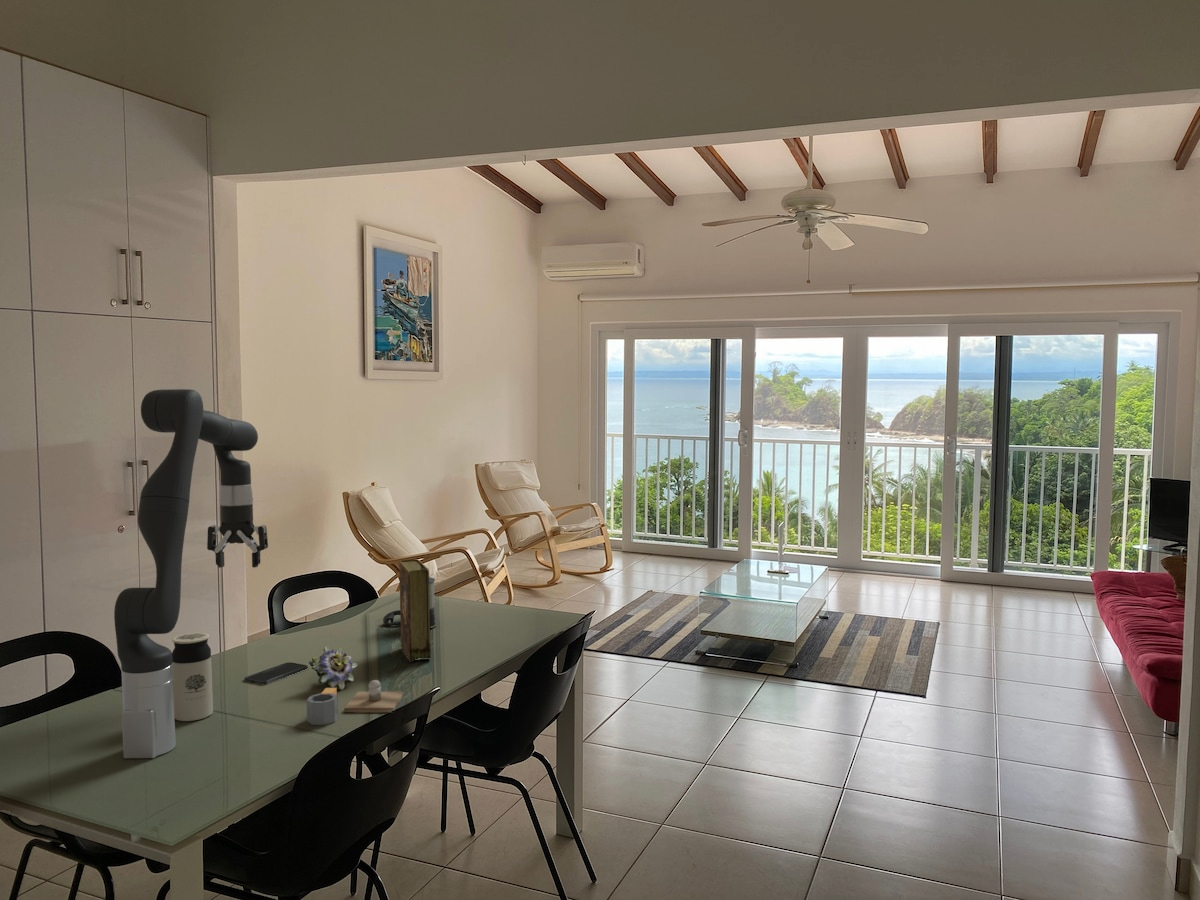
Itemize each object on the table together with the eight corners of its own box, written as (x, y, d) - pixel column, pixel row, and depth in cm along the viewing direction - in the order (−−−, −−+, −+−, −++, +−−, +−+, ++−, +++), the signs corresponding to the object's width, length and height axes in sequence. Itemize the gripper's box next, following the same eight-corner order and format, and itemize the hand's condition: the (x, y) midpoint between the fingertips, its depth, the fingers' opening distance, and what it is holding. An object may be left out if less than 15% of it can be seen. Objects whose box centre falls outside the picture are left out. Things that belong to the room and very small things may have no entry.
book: (400, 647, 251) (398, 560, 250) (419, 645, 253) (417, 558, 252) (410, 663, 236) (408, 571, 235) (430, 661, 238) (428, 569, 237)
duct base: (393, 712, 200) (392, 688, 200) (344, 712, 200) (343, 688, 200) (404, 695, 211) (403, 672, 211) (358, 695, 211) (357, 672, 211)
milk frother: (437, 630, 270) (436, 582, 269) (384, 634, 266) (382, 585, 265) (433, 618, 284) (432, 572, 283) (382, 622, 280) (381, 575, 279)
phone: (309, 665, 233) (264, 682, 220) (310, 670, 233) (264, 686, 220) (288, 661, 236) (242, 677, 223) (288, 666, 237) (242, 682, 223)
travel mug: (175, 712, 201) (172, 634, 200) (214, 707, 204) (211, 630, 203) (172, 724, 194) (169, 643, 193) (212, 719, 197) (209, 639, 196)
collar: (332, 725, 193) (331, 702, 193) (304, 725, 193) (303, 702, 193) (345, 709, 203) (344, 687, 202) (318, 709, 203) (318, 687, 202)
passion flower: (341, 711, 217) (325, 681, 209) (308, 696, 221) (291, 667, 214) (370, 675, 224) (356, 645, 216) (338, 662, 229) (323, 632, 221)
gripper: (201, 504, 217) (203, 570, 218) (259, 504, 217) (261, 569, 218) (214, 501, 225) (216, 564, 226) (270, 500, 225) (272, 564, 226)
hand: (238, 567), depth 222 cm, fingers open, 8 cm apart
